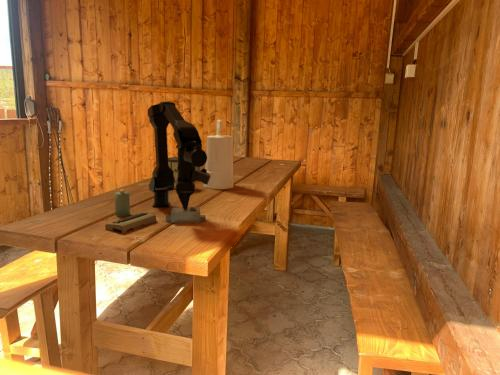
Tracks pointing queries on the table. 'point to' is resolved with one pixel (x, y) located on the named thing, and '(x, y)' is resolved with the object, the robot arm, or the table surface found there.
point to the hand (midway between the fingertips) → (185, 206)
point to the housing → (185, 215)
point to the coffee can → (174, 167)
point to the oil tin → (122, 203)
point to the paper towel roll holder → (219, 160)
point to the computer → (131, 222)
